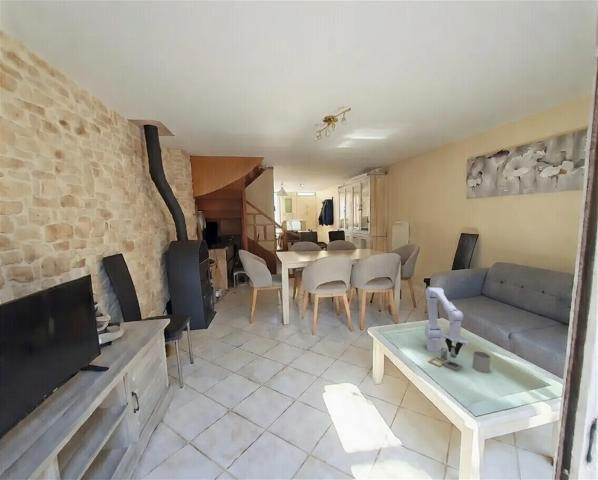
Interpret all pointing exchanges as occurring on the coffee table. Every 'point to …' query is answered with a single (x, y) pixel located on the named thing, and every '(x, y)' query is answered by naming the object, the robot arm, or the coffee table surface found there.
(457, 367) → the cradle
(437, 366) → the tray
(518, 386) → the coffee table surface
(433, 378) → the coffee table surface
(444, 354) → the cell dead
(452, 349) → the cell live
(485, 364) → the cup
